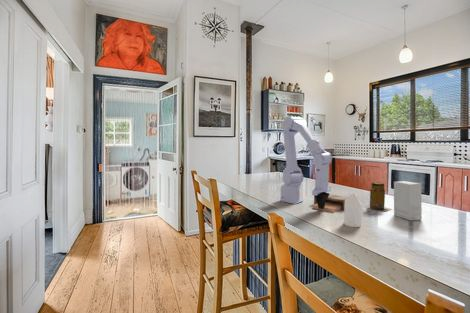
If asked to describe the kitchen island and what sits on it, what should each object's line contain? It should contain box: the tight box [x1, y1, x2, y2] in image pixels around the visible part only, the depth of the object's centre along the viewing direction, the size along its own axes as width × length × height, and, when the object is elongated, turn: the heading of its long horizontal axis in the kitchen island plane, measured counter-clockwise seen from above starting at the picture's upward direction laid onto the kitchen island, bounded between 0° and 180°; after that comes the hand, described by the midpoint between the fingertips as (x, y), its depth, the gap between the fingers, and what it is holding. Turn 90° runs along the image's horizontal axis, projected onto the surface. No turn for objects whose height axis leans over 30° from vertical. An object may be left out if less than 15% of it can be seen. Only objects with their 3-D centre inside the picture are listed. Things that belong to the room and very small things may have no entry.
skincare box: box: [393, 180, 423, 221], centre depth 101 cm, size 8×6×15 cm
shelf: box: [313, 193, 349, 211], centre depth 121 cm, size 15×8×4 cm, turn 46°
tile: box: [312, 200, 343, 213], centre depth 117 cm, size 10×14×2 cm
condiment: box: [365, 181, 392, 212], centre depth 115 cm, size 7×8×12 cm
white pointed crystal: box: [343, 193, 363, 228], centre depth 93 cm, size 6×12×6 cm
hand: (321, 208), depth 112 cm, fingers closed
